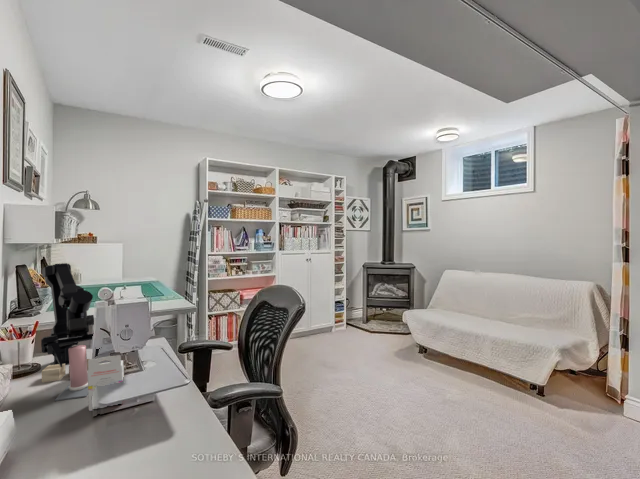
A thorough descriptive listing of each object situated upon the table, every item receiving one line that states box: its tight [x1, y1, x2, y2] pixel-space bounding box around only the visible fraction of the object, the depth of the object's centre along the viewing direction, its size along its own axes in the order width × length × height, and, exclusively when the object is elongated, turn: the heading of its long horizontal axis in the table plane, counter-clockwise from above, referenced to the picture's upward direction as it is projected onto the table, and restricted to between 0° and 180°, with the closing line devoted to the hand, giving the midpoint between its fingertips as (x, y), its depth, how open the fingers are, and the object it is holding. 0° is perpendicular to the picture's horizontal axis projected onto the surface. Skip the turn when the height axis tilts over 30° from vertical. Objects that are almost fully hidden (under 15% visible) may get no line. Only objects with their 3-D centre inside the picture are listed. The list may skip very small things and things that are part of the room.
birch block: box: [41, 364, 66, 383], centre depth 115 cm, size 5×5×4 cm
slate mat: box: [54, 383, 88, 402], centre depth 107 cm, size 14×8×1 cm, turn 18°
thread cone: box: [68, 344, 88, 391], centre depth 107 cm, size 5×5×13 cm
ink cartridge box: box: [87, 354, 125, 412], centre depth 97 cm, size 9×5×15 cm, turn 115°
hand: (79, 362), depth 106 cm, fingers open, 9 cm apart
